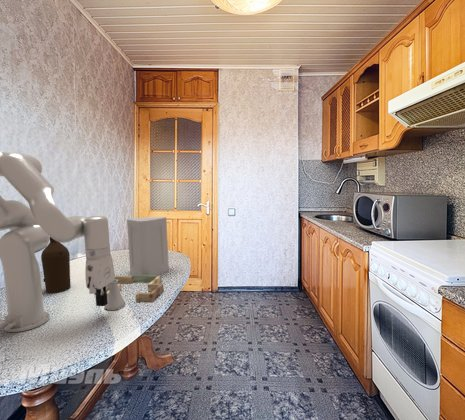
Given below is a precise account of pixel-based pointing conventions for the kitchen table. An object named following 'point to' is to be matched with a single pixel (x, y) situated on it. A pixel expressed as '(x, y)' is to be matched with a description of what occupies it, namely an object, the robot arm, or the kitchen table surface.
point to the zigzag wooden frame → (153, 279)
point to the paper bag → (148, 245)
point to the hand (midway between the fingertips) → (102, 305)
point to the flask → (114, 297)
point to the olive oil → (56, 267)
